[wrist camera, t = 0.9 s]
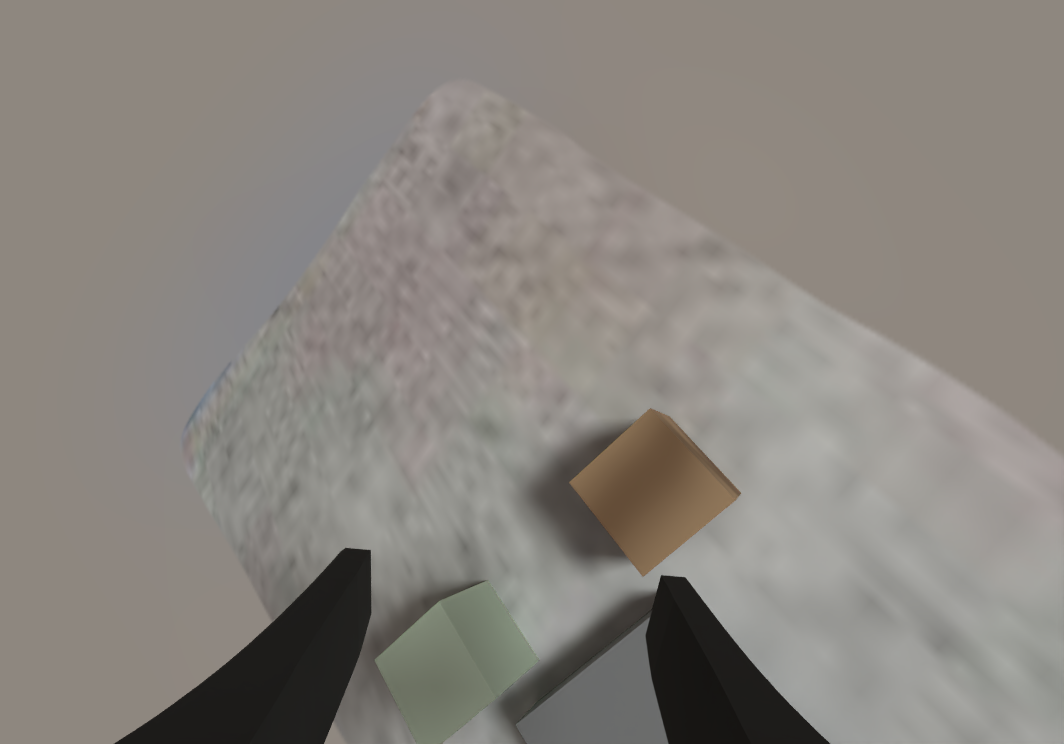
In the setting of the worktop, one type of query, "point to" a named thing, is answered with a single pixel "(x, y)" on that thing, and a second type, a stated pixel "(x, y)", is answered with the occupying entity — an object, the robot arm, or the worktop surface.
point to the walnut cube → (653, 489)
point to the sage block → (454, 662)
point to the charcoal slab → (602, 699)
